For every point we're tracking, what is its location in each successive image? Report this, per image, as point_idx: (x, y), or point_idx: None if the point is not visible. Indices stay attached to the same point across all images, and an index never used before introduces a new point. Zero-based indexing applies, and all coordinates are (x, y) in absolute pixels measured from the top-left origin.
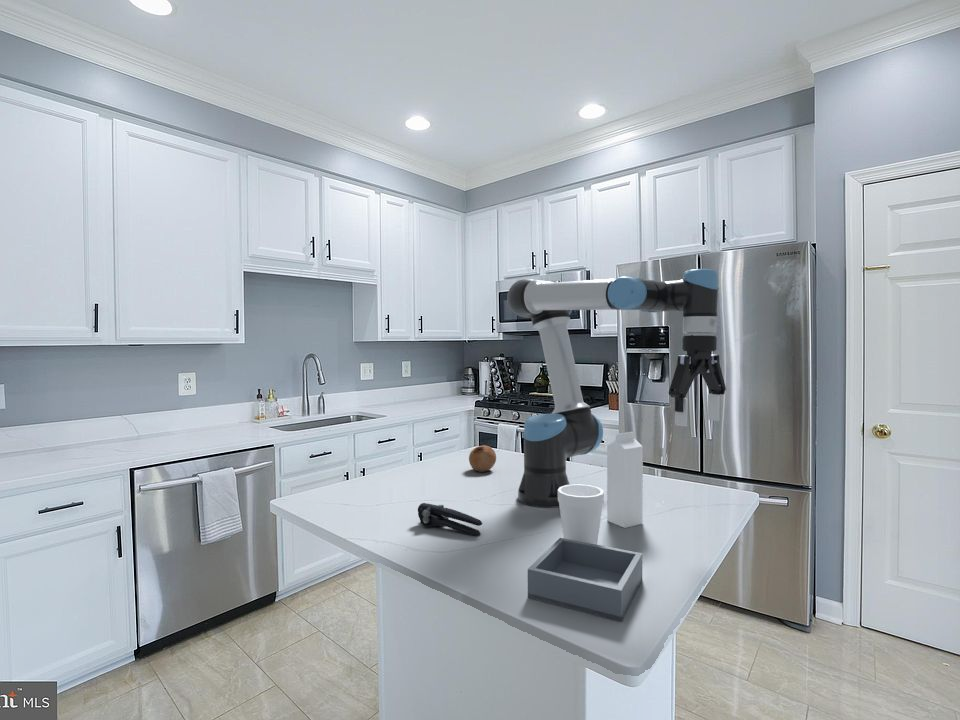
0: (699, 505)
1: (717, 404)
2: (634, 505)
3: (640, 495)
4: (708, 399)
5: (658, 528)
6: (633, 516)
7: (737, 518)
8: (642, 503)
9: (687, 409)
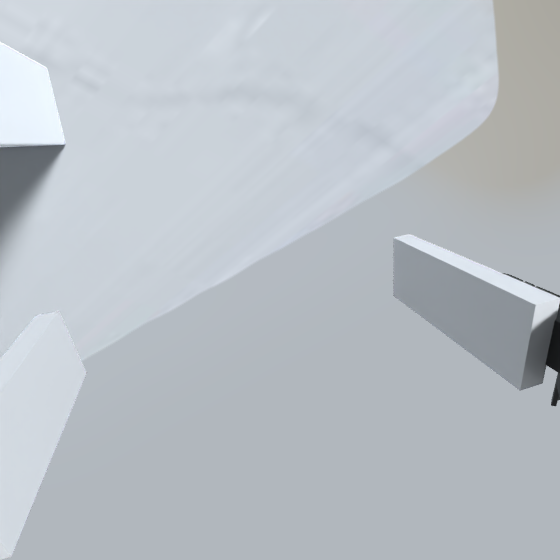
0: (319, 110)
1: (459, 342)
2: (5, 146)
3: (23, 145)
4: (490, 290)
5: (88, 190)
6: (15, 146)
7: (314, 223)
8: (45, 144)
9: (50, 459)
